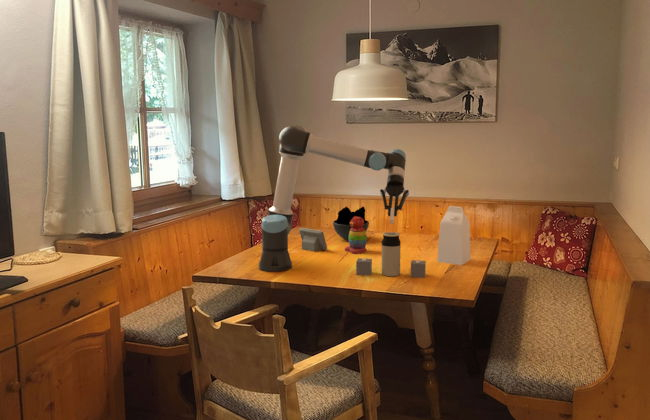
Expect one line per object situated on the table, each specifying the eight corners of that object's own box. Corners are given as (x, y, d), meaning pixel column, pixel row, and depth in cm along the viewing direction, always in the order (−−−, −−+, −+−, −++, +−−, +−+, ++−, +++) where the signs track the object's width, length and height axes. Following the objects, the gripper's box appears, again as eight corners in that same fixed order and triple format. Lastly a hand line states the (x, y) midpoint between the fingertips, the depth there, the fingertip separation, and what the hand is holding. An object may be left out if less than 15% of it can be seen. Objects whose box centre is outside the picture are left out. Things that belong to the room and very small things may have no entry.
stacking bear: (343, 250, 302) (343, 216, 299) (360, 248, 306) (360, 214, 304) (353, 254, 292) (353, 219, 290) (371, 252, 297) (371, 217, 294)
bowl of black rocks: (327, 241, 322) (327, 207, 319) (340, 235, 340) (340, 202, 337) (361, 244, 314) (362, 210, 311) (373, 237, 332) (373, 204, 330)
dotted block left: (370, 275, 253) (370, 261, 252) (356, 275, 254) (356, 261, 253) (371, 272, 259) (371, 258, 258) (358, 271, 260) (358, 257, 259)
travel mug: (390, 277, 249) (390, 236, 246) (377, 273, 255) (378, 233, 253) (403, 274, 254) (404, 233, 251) (391, 271, 260) (391, 231, 257)
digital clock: (329, 250, 301) (328, 230, 299) (314, 253, 296) (314, 232, 294) (310, 245, 314) (310, 225, 312) (296, 247, 308) (296, 227, 307)
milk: (470, 260, 279) (472, 206, 275) (461, 265, 270) (463, 209, 266) (446, 256, 286) (448, 204, 282) (437, 261, 276) (438, 207, 272)
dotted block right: (424, 277, 249) (425, 263, 248) (410, 277, 250) (410, 263, 249) (425, 274, 255) (425, 260, 254) (411, 273, 256) (411, 259, 255)
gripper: (410, 184, 267) (407, 227, 254) (381, 183, 270) (377, 226, 256) (409, 174, 261) (406, 217, 248) (380, 173, 264) (375, 216, 250)
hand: (391, 221), depth 252 cm, fingers closed
